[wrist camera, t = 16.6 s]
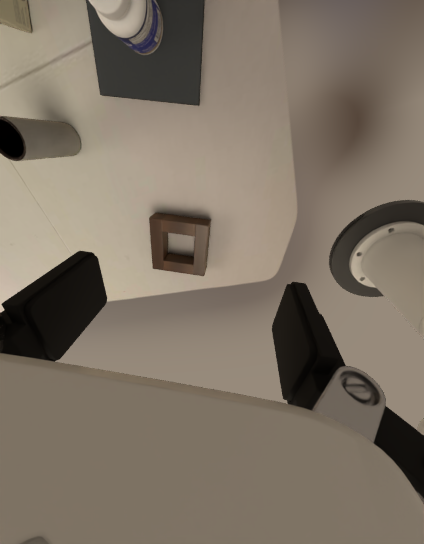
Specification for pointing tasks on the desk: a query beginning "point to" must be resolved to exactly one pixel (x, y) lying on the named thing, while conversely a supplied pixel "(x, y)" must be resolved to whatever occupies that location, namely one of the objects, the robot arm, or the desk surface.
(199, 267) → the holder
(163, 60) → the mat
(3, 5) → the cosmetic box
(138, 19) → the pill bottle
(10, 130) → the grey hollow tube
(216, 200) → the desk surface
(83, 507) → the robot arm
